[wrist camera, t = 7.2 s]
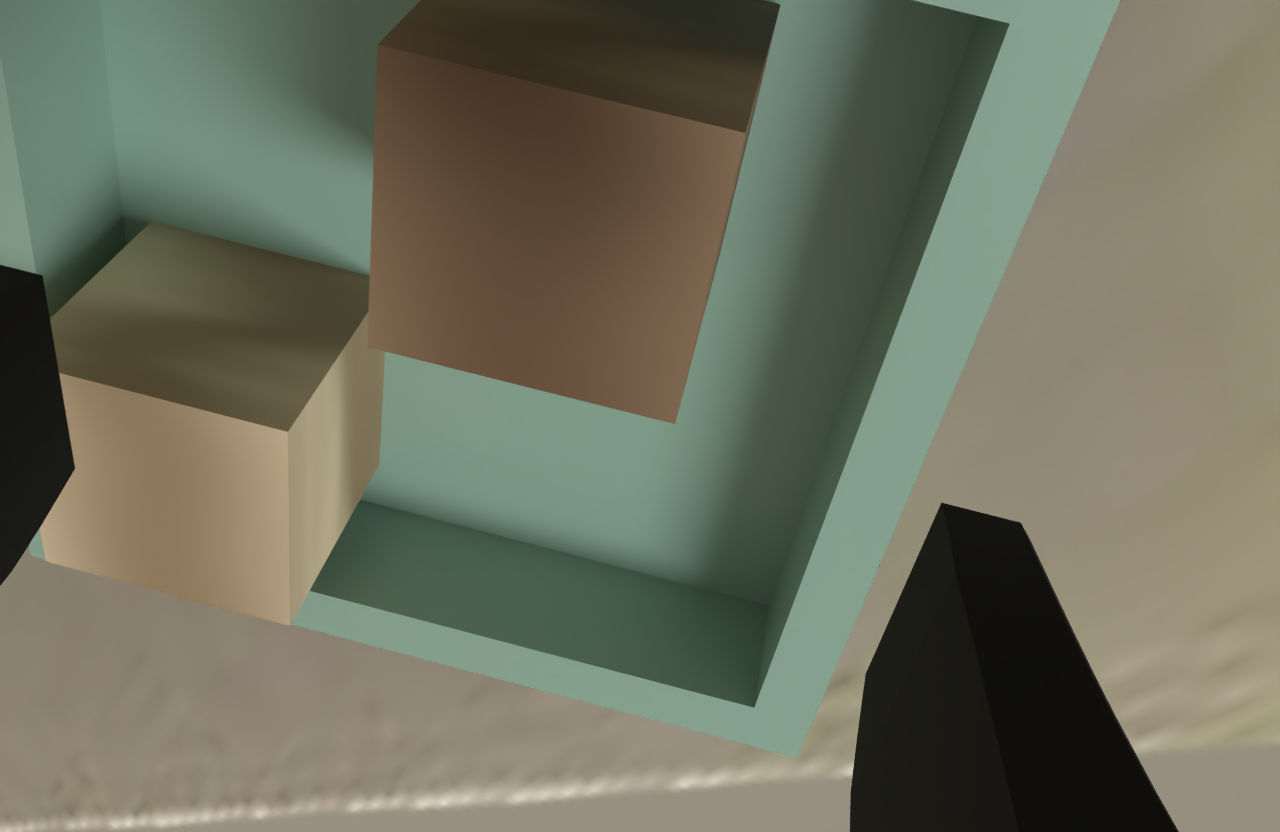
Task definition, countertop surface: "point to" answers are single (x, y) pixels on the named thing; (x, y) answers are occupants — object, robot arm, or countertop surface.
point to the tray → (572, 429)
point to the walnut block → (560, 187)
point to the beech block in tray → (214, 420)
